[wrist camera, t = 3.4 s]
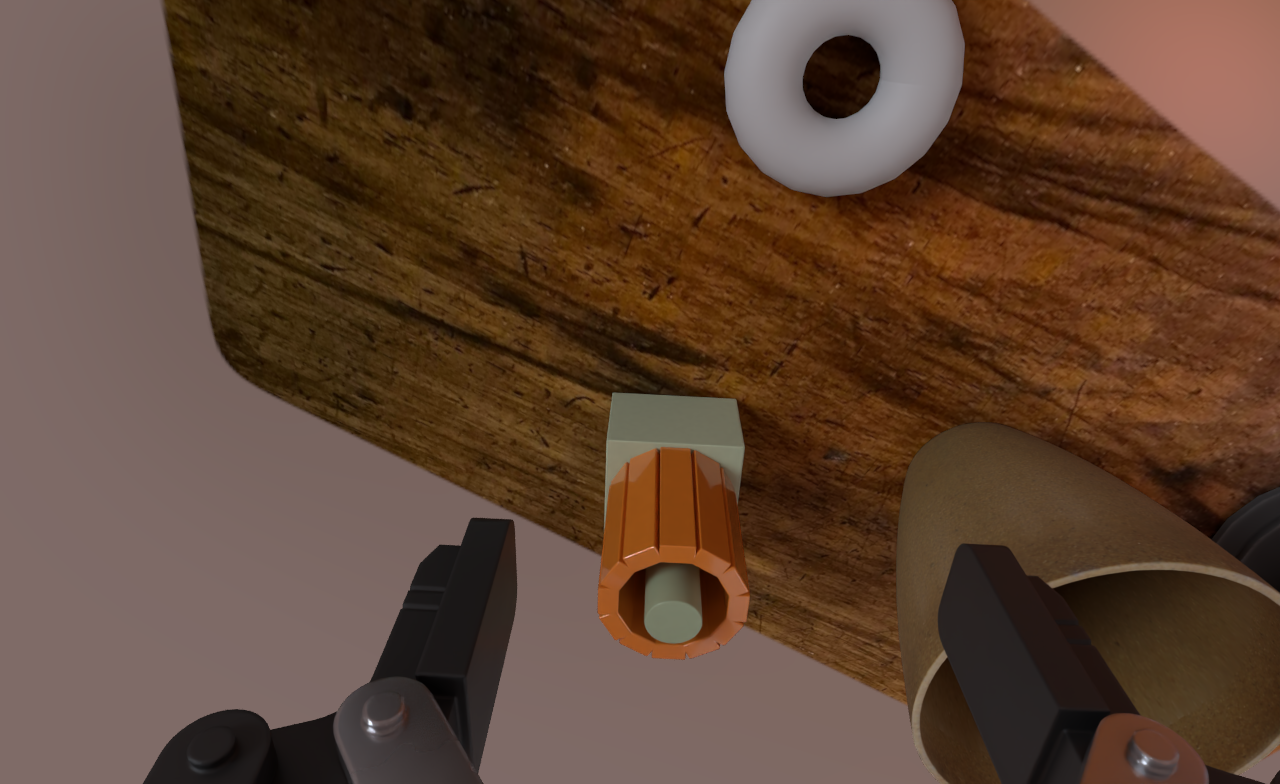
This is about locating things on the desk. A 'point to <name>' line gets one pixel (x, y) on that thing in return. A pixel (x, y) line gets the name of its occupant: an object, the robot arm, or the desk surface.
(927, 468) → the plant pot
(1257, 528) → the figurine
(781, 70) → the donut
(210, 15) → the desk surface
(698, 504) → the pen holder
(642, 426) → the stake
